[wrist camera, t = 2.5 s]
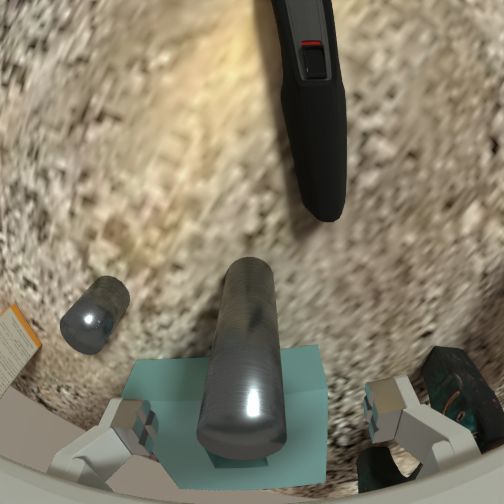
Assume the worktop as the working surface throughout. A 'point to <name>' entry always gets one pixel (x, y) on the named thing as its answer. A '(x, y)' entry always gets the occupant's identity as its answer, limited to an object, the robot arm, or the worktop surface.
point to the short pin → (95, 315)
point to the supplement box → (14, 345)
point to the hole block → (223, 469)
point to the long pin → (245, 369)
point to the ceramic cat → (448, 404)
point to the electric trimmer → (314, 103)
